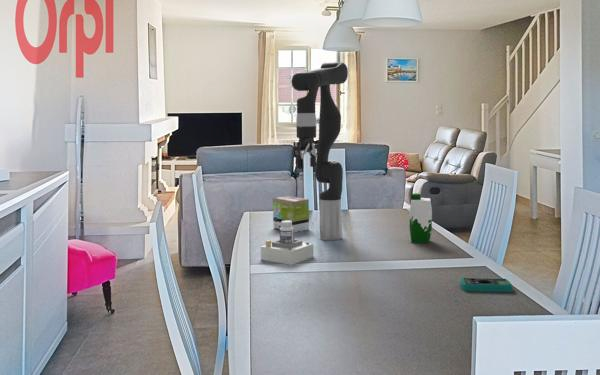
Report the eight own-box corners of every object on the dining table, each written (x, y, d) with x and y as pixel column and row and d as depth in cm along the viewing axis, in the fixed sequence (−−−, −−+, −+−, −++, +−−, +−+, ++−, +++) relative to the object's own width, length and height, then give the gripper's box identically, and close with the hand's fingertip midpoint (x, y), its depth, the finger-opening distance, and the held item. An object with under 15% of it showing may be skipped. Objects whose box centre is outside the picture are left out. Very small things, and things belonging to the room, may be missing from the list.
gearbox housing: (283, 252, 229) (283, 234, 228) (313, 256, 221) (313, 238, 220) (261, 259, 217) (260, 241, 216) (291, 264, 209) (291, 245, 208)
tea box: (272, 228, 277) (272, 197, 275) (288, 225, 283) (287, 195, 282) (293, 233, 266) (293, 200, 264) (309, 229, 272) (309, 198, 271)
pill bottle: (285, 242, 222) (285, 219, 221) (296, 244, 219) (296, 220, 218) (277, 245, 217) (276, 221, 216) (288, 246, 215) (288, 223, 213)
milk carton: (409, 239, 250) (410, 192, 247) (431, 239, 248) (432, 192, 245) (409, 243, 241) (409, 195, 239) (431, 244, 239) (432, 195, 237)
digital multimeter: (458, 285, 183) (458, 276, 183) (507, 286, 181) (508, 277, 181) (462, 292, 176) (462, 283, 176) (513, 294, 174) (513, 284, 174)
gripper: (308, 124, 230) (309, 165, 232) (287, 125, 218) (287, 169, 220) (324, 124, 225) (325, 166, 227) (303, 125, 214) (304, 169, 216)
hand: (306, 167), depth 224 cm, fingers open, 8 cm apart
